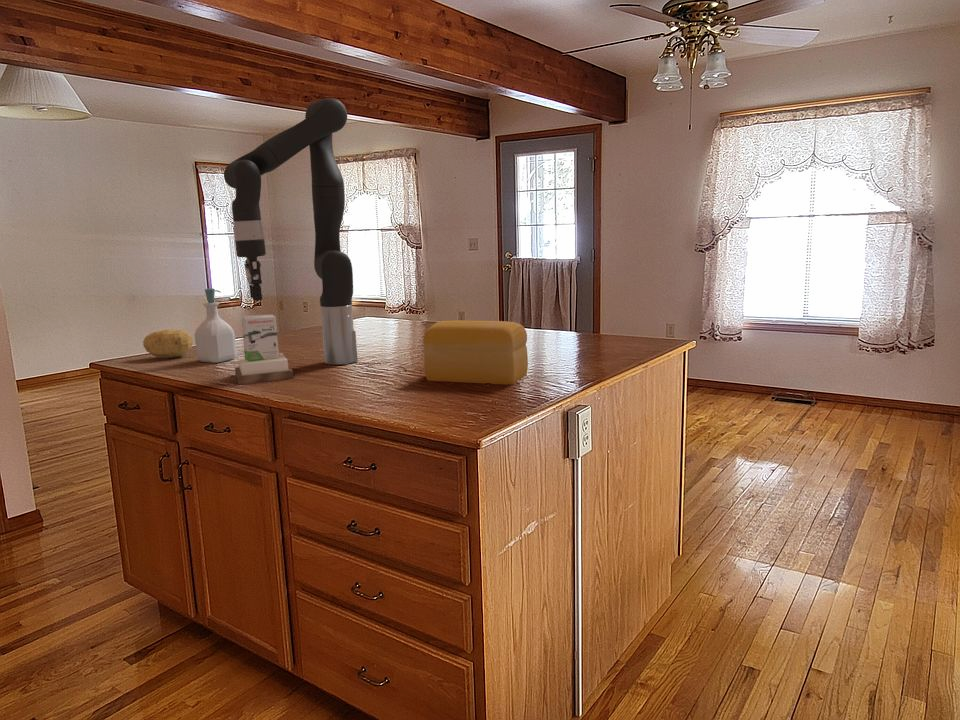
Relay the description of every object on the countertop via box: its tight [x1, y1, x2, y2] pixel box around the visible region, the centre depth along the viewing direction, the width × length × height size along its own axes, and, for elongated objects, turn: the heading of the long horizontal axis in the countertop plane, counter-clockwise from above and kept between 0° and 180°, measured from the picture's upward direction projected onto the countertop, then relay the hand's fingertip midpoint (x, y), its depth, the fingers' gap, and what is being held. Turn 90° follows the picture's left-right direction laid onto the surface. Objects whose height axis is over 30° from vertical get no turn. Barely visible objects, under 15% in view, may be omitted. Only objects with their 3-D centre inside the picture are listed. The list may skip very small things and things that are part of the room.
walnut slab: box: [234, 365, 294, 385], centre depth 190 cm, size 14×14×3 cm
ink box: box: [241, 313, 280, 361], centre depth 188 cm, size 9×5×12 cm, turn 118°
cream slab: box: [238, 352, 289, 376], centre depth 189 cm, size 12×12×3 cm
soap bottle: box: [194, 288, 238, 364], centre depth 215 cm, size 10×10×23 cm
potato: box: [142, 329, 194, 359], centre depth 224 cm, size 10×14×10 cm
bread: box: [422, 319, 529, 385], centre depth 178 cm, size 24×13×15 cm, turn 69°
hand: (256, 299), depth 186 cm, fingers open, 8 cm apart
